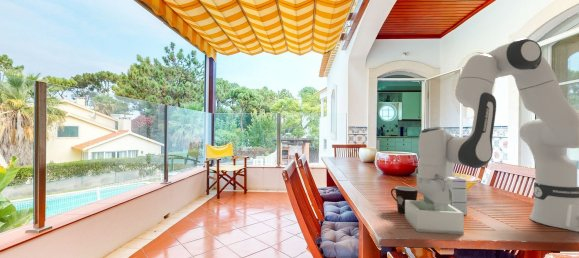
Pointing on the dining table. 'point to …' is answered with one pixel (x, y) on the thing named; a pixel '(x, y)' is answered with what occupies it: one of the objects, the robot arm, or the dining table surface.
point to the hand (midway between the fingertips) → (432, 211)
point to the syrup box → (458, 193)
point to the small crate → (428, 205)
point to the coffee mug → (404, 196)
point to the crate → (434, 219)
